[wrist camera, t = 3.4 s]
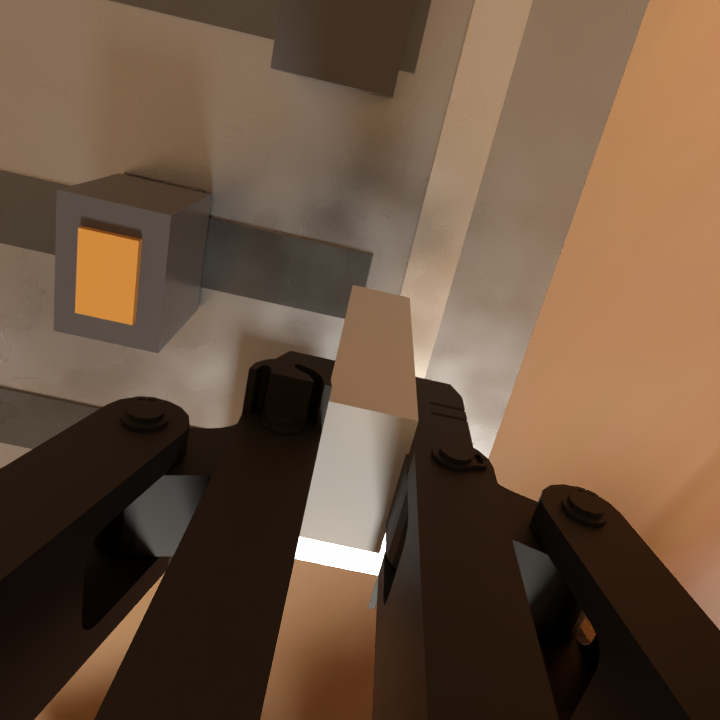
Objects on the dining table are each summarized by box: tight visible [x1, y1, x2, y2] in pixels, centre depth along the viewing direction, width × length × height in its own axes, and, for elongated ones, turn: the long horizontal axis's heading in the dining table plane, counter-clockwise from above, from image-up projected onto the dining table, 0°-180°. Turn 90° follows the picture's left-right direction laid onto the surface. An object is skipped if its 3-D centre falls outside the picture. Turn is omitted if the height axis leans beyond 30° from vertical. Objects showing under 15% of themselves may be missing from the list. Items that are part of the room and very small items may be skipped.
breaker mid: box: [54, 173, 212, 353], centre depth 19 cm, size 3×4×4 cm
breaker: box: [270, 0, 414, 98], centre depth 16 cm, size 3×4×4 cm
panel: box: [0, 0, 649, 575], centre depth 22 cm, size 26×24×2 cm
